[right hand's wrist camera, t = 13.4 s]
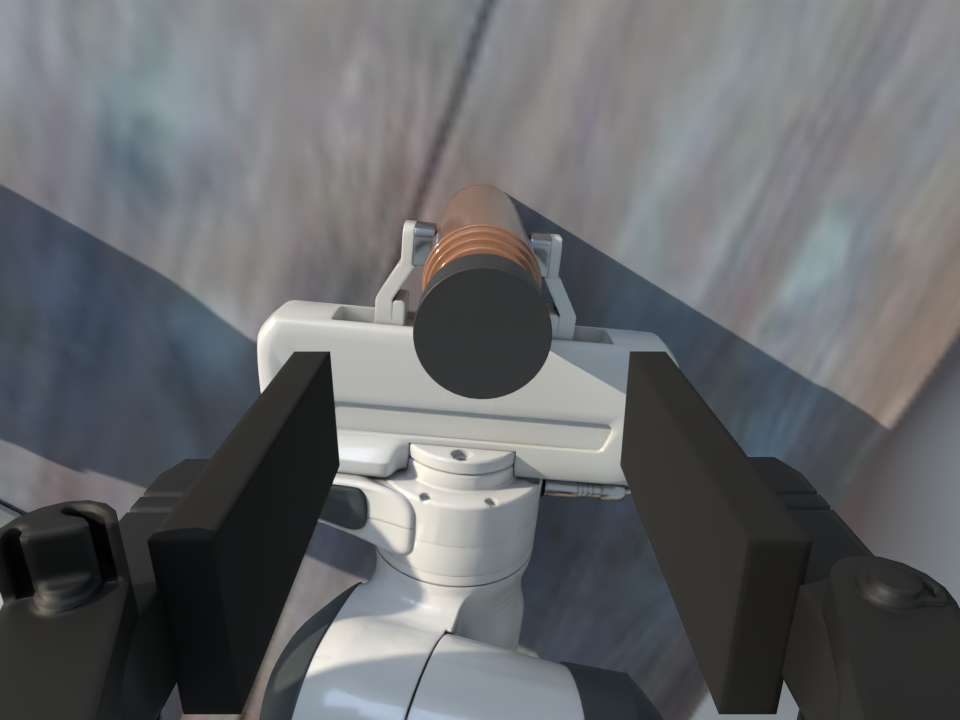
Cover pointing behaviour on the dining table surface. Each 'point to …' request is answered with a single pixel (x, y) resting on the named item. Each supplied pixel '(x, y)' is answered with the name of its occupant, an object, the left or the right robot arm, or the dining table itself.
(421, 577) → the left robot arm
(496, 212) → the bottle
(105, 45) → the dining table surface
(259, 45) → the dining table surface
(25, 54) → the dining table surface
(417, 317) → the cap
